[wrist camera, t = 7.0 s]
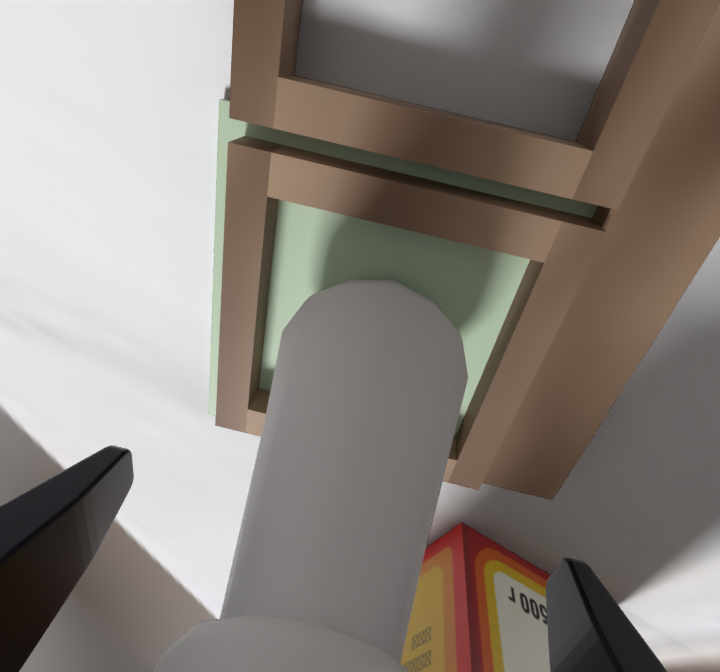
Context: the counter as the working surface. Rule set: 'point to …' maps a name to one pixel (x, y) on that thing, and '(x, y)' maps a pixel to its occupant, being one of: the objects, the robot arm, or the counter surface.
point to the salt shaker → (339, 489)
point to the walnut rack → (494, 223)
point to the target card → (376, 255)
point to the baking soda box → (477, 609)
